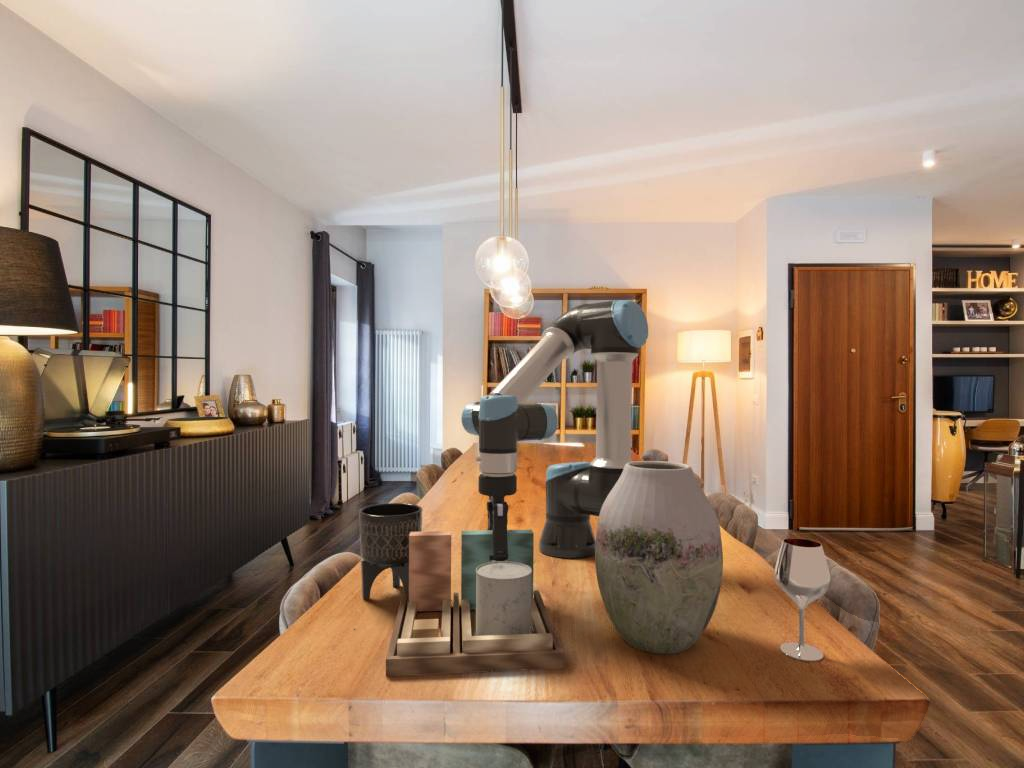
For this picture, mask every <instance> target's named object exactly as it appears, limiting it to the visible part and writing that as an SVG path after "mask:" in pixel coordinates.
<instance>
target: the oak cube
mask: <svg viewBox="0 0 1024 768" xmlns="http://www.w3.org/2000/svg"><path fill="white" fill-rule="evenodd" d="M434 637H439V618H428V619H427V618H425V619H423V618H422V619H415V621H414V626H413V636H412V638H434Z"/></svg>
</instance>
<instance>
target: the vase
mask: <svg viewBox="0 0 1024 768" xmlns="http://www.w3.org/2000/svg"><path fill="white" fill-rule="evenodd" d="M721 533H722V532H721V525H720V521H719V518H718V516H717V513H716V511H715V509H714V506H713V504H712V502H710V499H709V498H708V496H707V495H706V494H705V492H704V490H703V489H702V487H701V486H700V484H699V482H698V480H697V478H696V476H695V473H694V471H693V469H692V466H690V465H689V464H687V463H686V464H685V463H683V462H682V463H681V462H675V461H661V460H639V461H633V462H629V463H627V464H625V466H624V469H623V472H622V474H621V476H620V478H619V479H618V481H617V483H616V484H615V486H614V487H613V489H612V490H611V492H610V493H609V495H608V496H607V498H606V500H605V501H604V503H603V506H602V508H601V511H600V514H599V517H598V520H597V526H596V533H595V535H596V536H595V540H596V544H595V554H594V561H595V562H594V563H595V573H596V580H597V585H598V589H599V593H600V597H601V600H602V603H603V605H604V608H605V611H606V612H607V613H606V614H607V615H608V617H609V619H610V621H611V623H612V626H614V628H615V630H616V631H617V632H618V634H619V635H620V636H621V638H622V639H623V640H624V641H625V642H626V643H627V644H629V645H630V646H631V647H633V648H635V649H638V650H640V651H644V652H648V653H653V654H664V655H671V654H677V653H678V654H679V653H682V652H684V651H686V650H689V649H690V648H691V647H693V646H694V644H696V643H697V641H698V640H699V638H700V637H701V636H702V634H704V632H705V631H706V629H707V627H708V625H709V624H710V621H711V619H712V618H713V616H714V613H715V610H716V607H717V604H718V600H719V596H720V592H721V586H722V579H723V570H724V569H723V568H724V567H723V566H724V554H723V544H722V543H723V542H722V534H721Z"/></svg>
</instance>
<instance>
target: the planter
mask: <svg viewBox="0 0 1024 768" xmlns="http://www.w3.org/2000/svg"><path fill="white" fill-rule="evenodd" d="M358 519H359V520H358V521H359V544H360V545H359V546H360V557H361V559H362V560H360V562H361V563H360V566H361V567H360V569H361V594H362V600H363V601H369V600H370V599H371V598H370V596H371V591H372V586H373V583H374V581H375V580H376V579H377V577H378V576H379V575H380V574H381V573H383V572H384V571H385V570H387V569H391V573H392V588H399V587H400V586H401V584H402V588H403V594H407V602H409V535H410V532H423V531H422V528H423V507H422V506H420V505H417V504H412V503H404V502H403V503H402V502H391V503H389V502H388V503H387V502H386V503H377V504H372V505H367V506H364V507H362V508H360V509H359V511H358Z"/></svg>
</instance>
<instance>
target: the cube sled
mask: <svg viewBox="0 0 1024 768" xmlns="http://www.w3.org/2000/svg"><path fill="white" fill-rule="evenodd" d="M451 608H452V531H451V530H445V531H444V530H442V531H441V530H436V531H435V530H433V531H428V530H427V531H421V532H410V535H409V601H407V611H406V615H405V620H404V625H403V629H402V634H401V639H398V641H397V656H404V655H430V654H451V618H452V617H451V616H452V612H451V611H452V609H451ZM417 612H441V629H440V630H441V631H440V637H439V636H438V637H434V638H413V626H414V621H415V620H416V618H417Z"/></svg>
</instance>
